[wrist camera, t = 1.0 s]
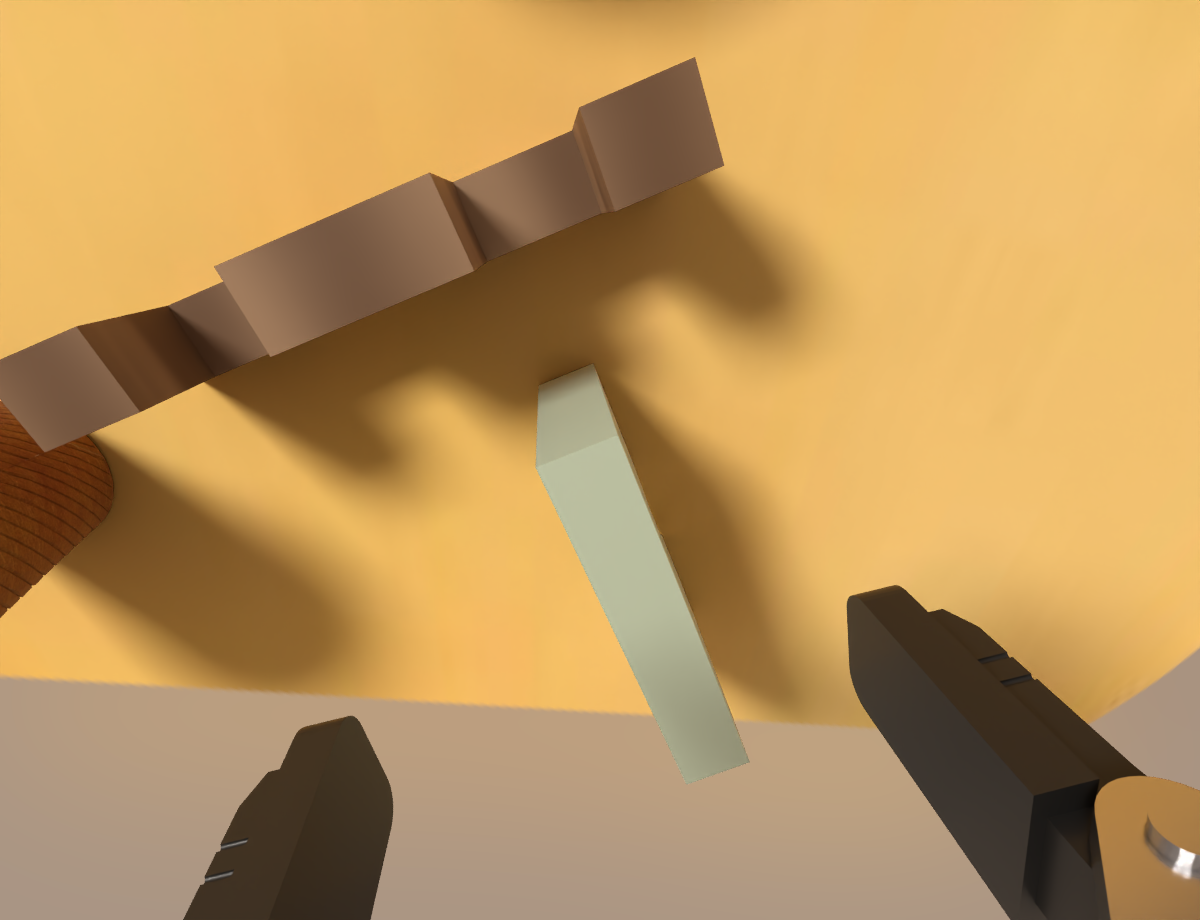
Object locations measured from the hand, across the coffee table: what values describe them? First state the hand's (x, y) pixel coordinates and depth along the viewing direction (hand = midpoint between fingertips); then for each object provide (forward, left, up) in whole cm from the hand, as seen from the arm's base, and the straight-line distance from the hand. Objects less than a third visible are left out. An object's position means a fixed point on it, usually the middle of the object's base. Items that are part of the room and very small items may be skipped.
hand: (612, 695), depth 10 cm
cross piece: (-3, +5, -17) cm, 18 cm away
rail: (+7, -5, -17) cm, 19 cm away
